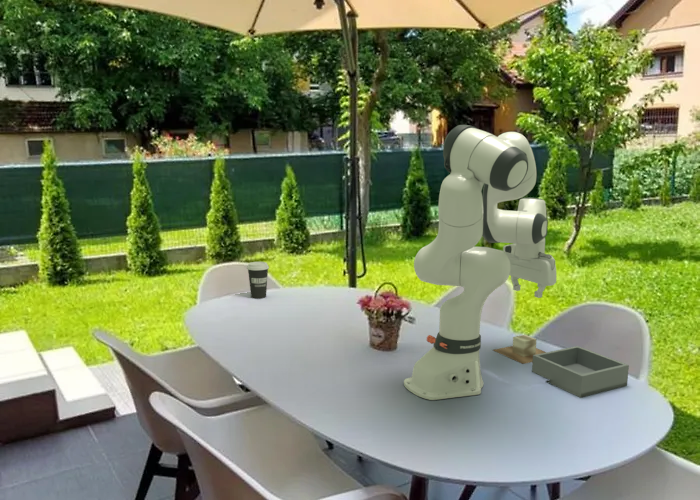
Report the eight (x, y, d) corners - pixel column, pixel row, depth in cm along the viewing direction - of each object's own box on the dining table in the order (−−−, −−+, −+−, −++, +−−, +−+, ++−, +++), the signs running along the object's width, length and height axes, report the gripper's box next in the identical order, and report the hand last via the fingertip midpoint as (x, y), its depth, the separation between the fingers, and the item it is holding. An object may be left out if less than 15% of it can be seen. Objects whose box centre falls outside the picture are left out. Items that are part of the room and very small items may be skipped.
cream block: (523, 356, 187) (524, 341, 186) (512, 352, 191) (513, 336, 190) (535, 354, 189) (536, 339, 188) (524, 349, 193) (525, 334, 193)
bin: (580, 397, 159) (582, 376, 158) (531, 374, 175) (533, 355, 174) (627, 385, 167) (628, 365, 166) (576, 364, 183) (577, 345, 182)
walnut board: (522, 367, 181) (522, 363, 181) (491, 352, 193) (492, 349, 193) (556, 359, 187) (556, 356, 187) (524, 346, 200) (525, 343, 199)
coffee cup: (244, 299, 260) (243, 265, 258) (251, 293, 269) (250, 261, 267) (265, 300, 259) (265, 265, 256) (272, 294, 268) (271, 261, 265)
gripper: (563, 254, 177) (560, 300, 179) (514, 244, 195) (512, 285, 197) (547, 256, 174) (544, 302, 176) (499, 245, 192) (497, 287, 194)
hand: (527, 293), depth 187 cm, fingers open, 8 cm apart
